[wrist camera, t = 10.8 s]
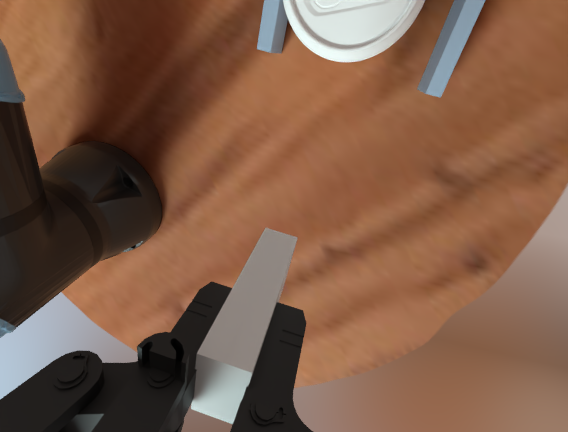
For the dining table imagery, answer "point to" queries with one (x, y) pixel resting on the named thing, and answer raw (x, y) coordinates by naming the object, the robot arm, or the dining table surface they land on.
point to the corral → (442, 57)
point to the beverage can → (350, 25)
